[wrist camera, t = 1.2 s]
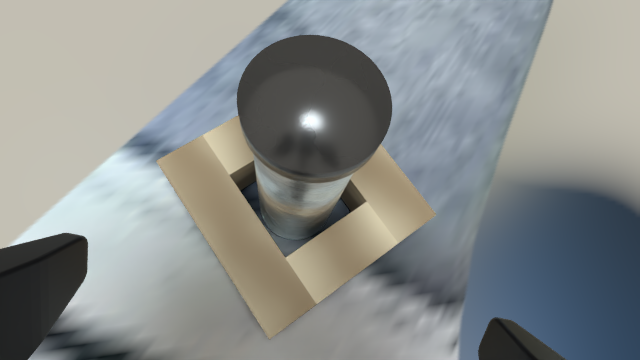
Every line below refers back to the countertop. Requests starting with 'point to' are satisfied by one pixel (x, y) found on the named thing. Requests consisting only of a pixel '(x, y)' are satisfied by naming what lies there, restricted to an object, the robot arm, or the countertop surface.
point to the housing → (258, 246)
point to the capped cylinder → (310, 126)
